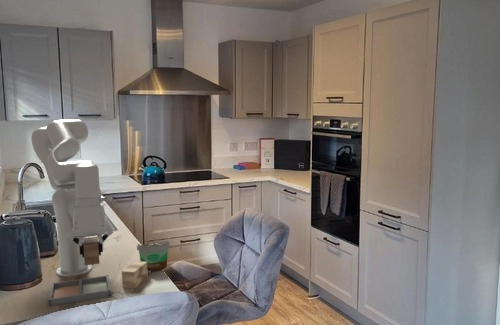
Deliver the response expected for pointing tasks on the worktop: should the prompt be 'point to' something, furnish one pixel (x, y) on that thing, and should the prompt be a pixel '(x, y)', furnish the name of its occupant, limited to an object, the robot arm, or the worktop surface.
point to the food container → (154, 255)
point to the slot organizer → (79, 290)
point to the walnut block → (91, 251)
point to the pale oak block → (134, 274)
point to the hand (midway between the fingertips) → (91, 254)
